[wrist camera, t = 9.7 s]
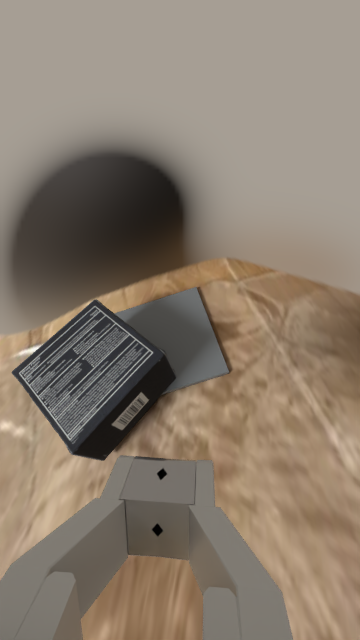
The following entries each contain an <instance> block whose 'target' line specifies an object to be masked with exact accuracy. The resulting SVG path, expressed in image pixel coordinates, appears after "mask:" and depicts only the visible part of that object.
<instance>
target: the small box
mask: <svg viewBox="0 0 360 640" xmlns="http://www.w3.org/2000/svg"><path fill="white" fill-rule="evenodd" d="M12 374H13V375H14V376H15V377H16V379H18V381H19V382H20V384H21V385H22V386H23V387H24V388H25V390H26V391H27V393H29V395H30V397H31V398H32V400H33V401H34V403H35V404H36V405H37V406H38V408H39V409H40V410H41V412H42V413H43V414H44V416H45V417H46V418H47V420H48V421H49V422H50V424H51V425H52V427H53V428H54V430H55V431H56V432H57V433H58V434H59V436H60V437H61V439H62V440H63V441H64V443H65V444H66V446H67V448H68V450H69V452H70V453H71V454H72V455H76V456H81V457H86V458H91V459H96V460H101V461H102V460H103V461H104V460H105V459H106V458H107V456H108V455H109V454H110V453H111V452H112V451H113V450H114V448H115V447H116V446H117V445H118V444H119V443H120V441H121V440H122V439H123V438H124V437H125V436H126V435H127V433H128V432H129V431H130V430H131V429H132V428H133V427H134V425H135V424H136V423H137V422H138V421H139V420H140V419H141V417H142V416H143V415H144V414H145V413H146V412H147V411H148V409H149V408H150V407H151V406H152V405H153V404H154V403H155V401H156V400H157V399H158V398H159V397H160V396H161V395H162V393H163V392H164V391H165V390H166V389H167V388H168V387H169V385H170V384H171V383H172V382H173V381H174V380H175V379H176V374H175V371H174V369H173V368H172V366H171V364H170V362H169V360H168V358H167V354H166V353H165V351H164V350H162V349H161V348H158V347H157V346H155V345H154V344H153V343H151V342H150V341H149V340H148V339H146V338H145V337H144V336H142V335H141V334H140V333H139V332H137V331H136V330H135V329H134V328H132V327H131V326H130V325H128V324H127V323H126V322H124V321H123V320H122V319H121V318H119V317H118V316H117V315H115V314H114V313H113V312H111V311H110V310H109V309H107V308H106V307H105V306H104V305H102V304H101V303H100V302H99V301H98V300H94V301H92V302H91V303H90V304H89V305H88V306H87V307H86V308H84V309H83V310H82V311H81V312H80V313H79V314H78V315H76V316H75V317H74V318H73V319H72V320H71V321H70V322H68V323H67V324H66V325H65V326H64V327H63V328H62V329H60V330H59V331H58V332H57V333H56V334H55V335H53V336H52V337H51V338H50V339H49V340H48V341H47V342H45V343H44V344H43V345H42V346H41V347H40V348H39V349H37V350H36V351H35V352H34V353H33V354H32V355H31V356H29V357H28V358H27V359H26V360H25V361H24V362H22V363H21V364H20V365H19V366H18V367H17V368H15V369H14V370H13V371H12Z"/></svg>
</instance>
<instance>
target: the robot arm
mask: <svg viewBox="0 0 360 640" xmlns="http://www.w3.org/2000/svg"><path fill="white" fill-rule="evenodd" d="M128 555H138V556H156V557H158V556H159V557H165V558H173V559H181V560H189V564H190V566H191V568H192V571H193V573H194V576H195V578H196V580H197V583H198V585H199V588H200V590H201V592H202V595H203V640H293V637H292V633H291V628H290V624H289V620H288V616H287V611H286V607H285V603H284V599H283V594H282V592H281V590H280V589H279V587H278V586H277V585H276V583H275V582H274V581H273V579H272V578H271V576H270V575H269V574H268V572H267V571H266V570H265V568H264V567H263V565H262V564H261V563H260V561H259V560H258V559H257V557H256V556H255V554H254V553H253V552H252V550H251V549H250V547H249V546H248V545H247V543H246V542H245V541H244V539H243V538H242V536H241V535H240V534H239V532H238V531H237V530H236V528H235V527H234V525H233V524H232V523H231V521H230V520H229V519H228V517H227V516H226V514H225V513H224V512H223V510H222V509H221V508H220V507H215V492H214V470H213V462H212V460H197V463H196V460H180V459H163V458H151V457H139V456H136V457H134V456H123V455H120V457H119V458H118V459H117V461H116V463H115V465H114V468H113V470H112V472H111V474H110V477H109V479H108V481H107V483H106V486H105V488H104V490H103V493H102V495H101V497H100V499H99V498H95V499H93V500H92V501H91V502H90V503H88V504H87V505H86V506H85V507H83V508H82V509H81V510H79V511H78V512H77V513H76V514H74V515H73V516H72V517H71V518H69V519H68V520H67V521H66V522H64V523H63V524H62V525H60V526H59V527H58V528H57V529H55V530H54V531H53V532H52V533H50V534H49V535H48V536H46V537H45V538H44V539H43V540H41V541H40V542H39V543H38V544H36V545H35V546H34V547H33V548H31V549H30V550H29V551H27V552H26V553H25V554H24V555H22V556H21V557H20V558H19V559H17V560H16V561H15V562H14V563H12V564H11V565H10V567H9V568H8V570H7V571H6V573H5V575H4V576H3V578H2V579H1V581H0V640H83V635H82V627H81V618H82V617H83V616H84V614H85V613H86V612H87V610H88V609H89V608H90V607H91V605H92V604H93V603H94V601H95V600H96V599H97V597H98V596H99V595H100V593H101V592H102V591H103V589H104V588H105V587H106V585H107V584H108V583H109V582H110V580H111V579H112V578H113V576H114V575H115V574H116V572H117V571H118V570H119V568H120V567H121V566H122V564H123V563H124V562H125V561H126V559H127V558H128Z"/></svg>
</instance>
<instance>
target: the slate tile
mask: <svg viewBox="0 0 360 640" xmlns="http://www.w3.org/2000/svg"><path fill="white" fill-rule="evenodd" d="M114 314H115V315H117V316H118V317H119V318H121V319H122V320H123V321H124V322H126V323H127V324H128V325H130V326H131V327H132V328H134V329H135V330H136V331H137V332H139V333H140V334H141V335H142V336H144V337H145V338H146V339H148V340H149V341H150V342H151V343H153V344H154V345H155V346H157V347H158V348H161V349H162V350H164V351H165V353H166V354H167V358H168V360H169V362H170V364H171V366H172V368H173V369H174V371H175V374H176V379H175V380H174V381H173V382H172V383H171V384H170V385H169V387H168V388H167V389H166V390H165V391H164V392H163V393H162V395H163V394H166V393H169V392H172V391H175V390H179V389H182V388H185V387H188V386H191V385H194V384H197V383H201V382H204V381H207V380H210V379H213V378H216V377H219V376H223V375H226V374H229V370H228V368H227V365H226V363H225V360H224V357H223V355H222V352H221V350H220V347H219V345H218V342H217V339H216V337H215V334H214V332H213V329H212V327H211V324H210V321H209V319H208V316H207V314H206V311H205V308H204V306H203V303H202V301H201V298H200V296H199V293H198V290H197V288H196V287H195V288H192V289H189V290H185V291H182V292H179V293H176V294H173V295H170V296H167V297H164V298H161V299H158V300H155V301H151V302H148V303H145V304H142V305H139V306H136V307H133V308H130V309H127V310H124V311H121V312H117V313H114Z"/></svg>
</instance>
